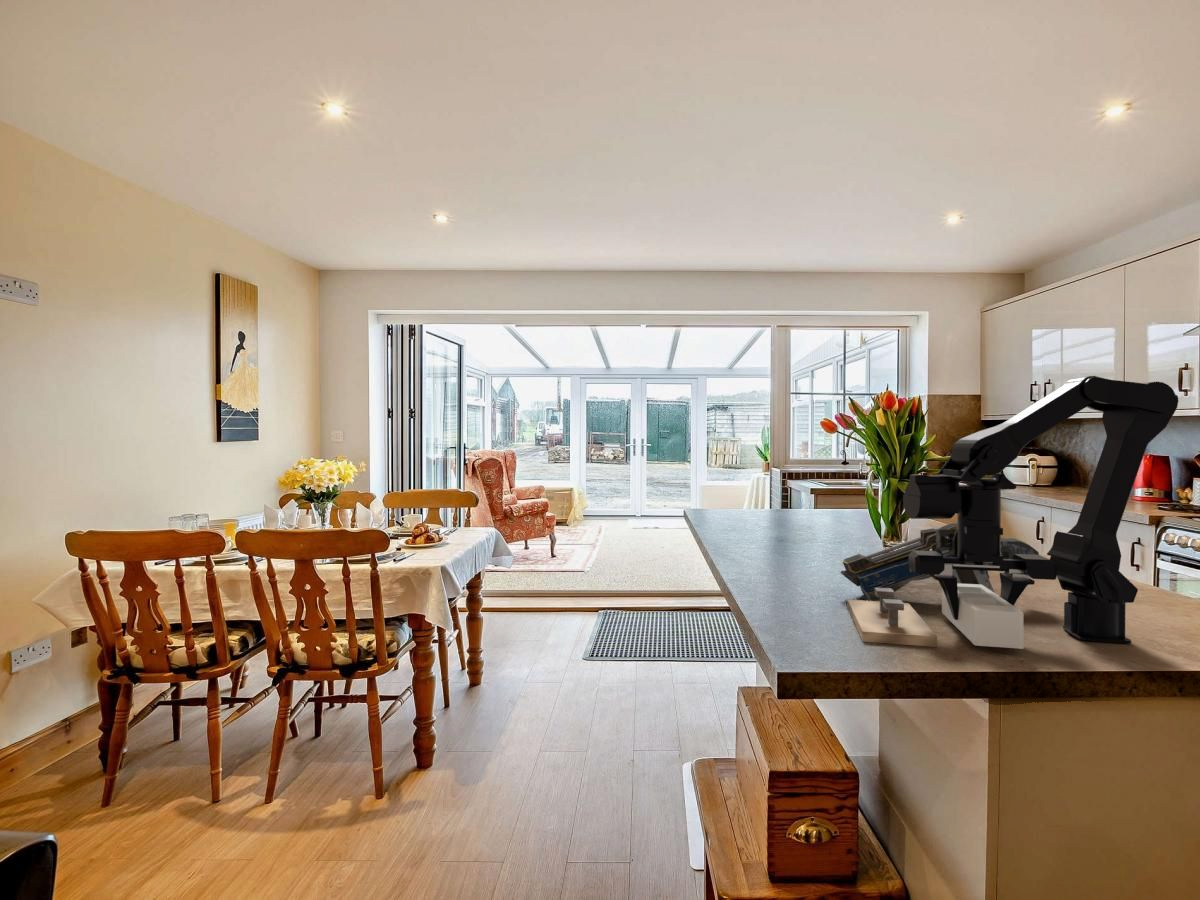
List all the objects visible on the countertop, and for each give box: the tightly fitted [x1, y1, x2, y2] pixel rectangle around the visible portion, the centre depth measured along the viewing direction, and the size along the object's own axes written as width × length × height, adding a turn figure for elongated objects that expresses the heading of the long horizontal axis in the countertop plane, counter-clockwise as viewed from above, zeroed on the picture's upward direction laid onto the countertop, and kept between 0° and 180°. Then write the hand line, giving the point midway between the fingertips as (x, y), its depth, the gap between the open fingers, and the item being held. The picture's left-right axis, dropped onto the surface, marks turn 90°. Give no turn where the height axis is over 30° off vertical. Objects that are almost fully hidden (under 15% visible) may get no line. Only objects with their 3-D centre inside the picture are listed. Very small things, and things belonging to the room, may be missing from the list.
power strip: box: [941, 583, 1024, 650], centre depth 97 cm, size 18×6×5 cm, turn 165°
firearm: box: [840, 522, 1040, 601], centre depth 118 cm, size 8×33×15 cm, turn 78°
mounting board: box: [846, 588, 938, 648], centre depth 103 cm, size 10×20×5 cm, turn 165°
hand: (978, 620), depth 97 cm, fingers closed on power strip, 6 cm apart
